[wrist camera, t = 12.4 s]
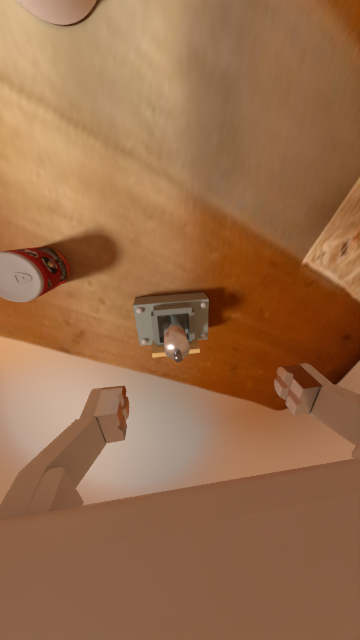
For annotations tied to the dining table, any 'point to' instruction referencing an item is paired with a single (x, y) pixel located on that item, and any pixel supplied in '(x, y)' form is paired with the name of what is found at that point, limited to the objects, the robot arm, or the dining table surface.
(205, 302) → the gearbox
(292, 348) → the dining table surface
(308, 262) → the dining table surface
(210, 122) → the dining table surface
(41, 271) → the canned food
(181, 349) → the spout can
